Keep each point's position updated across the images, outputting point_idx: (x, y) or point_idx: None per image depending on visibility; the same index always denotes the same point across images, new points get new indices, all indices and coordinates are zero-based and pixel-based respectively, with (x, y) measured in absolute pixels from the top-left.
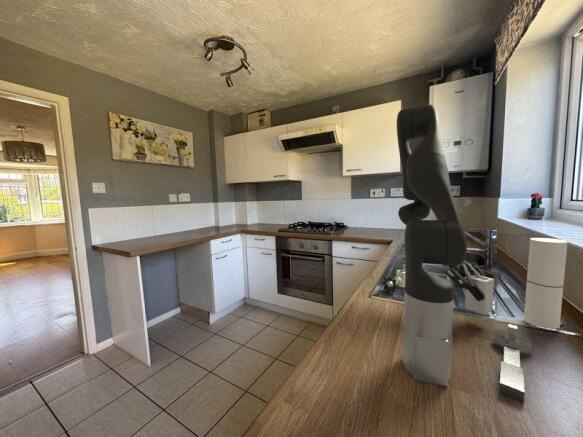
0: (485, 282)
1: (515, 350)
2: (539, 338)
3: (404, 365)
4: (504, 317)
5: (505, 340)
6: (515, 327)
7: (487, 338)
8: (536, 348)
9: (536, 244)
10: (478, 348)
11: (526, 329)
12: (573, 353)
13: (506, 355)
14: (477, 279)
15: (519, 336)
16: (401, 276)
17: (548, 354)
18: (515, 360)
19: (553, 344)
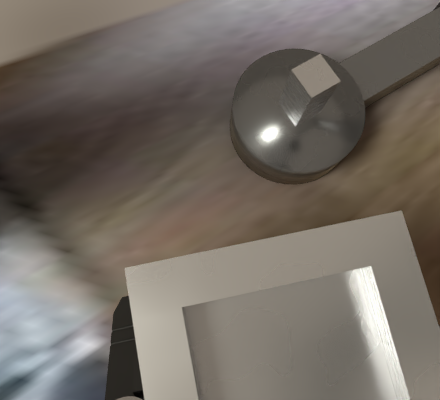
0: (398, 212)
1: (356, 66)
2: (98, 131)
3: None
4: (18, 317)
5: (350, 102)
6: (314, 64)
7: (322, 200)
8: (199, 93)
9: None
10: (427, 162)
11: (60, 195)
12: (103, 36)
13: (422, 58)
14: (423, 340)
15: (253, 103)
16: None
17: (200, 59)
18: (417, 33)
19: (99, 89)
